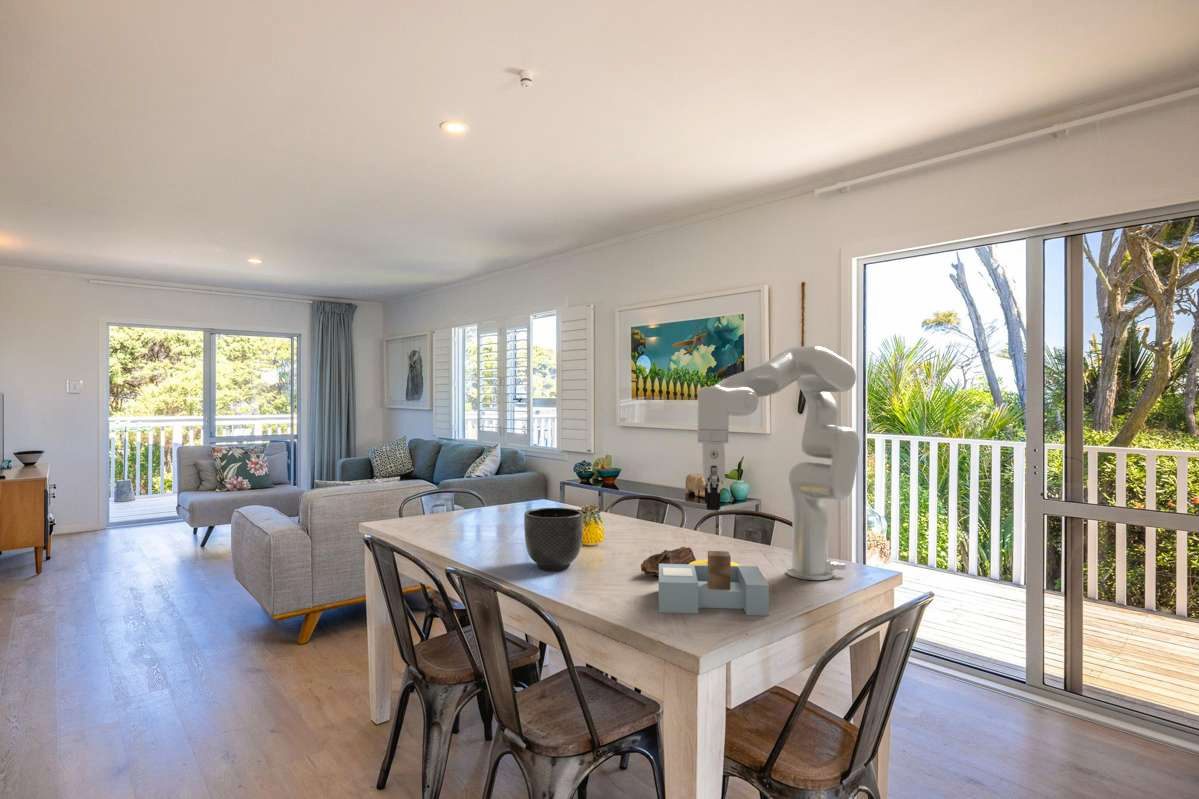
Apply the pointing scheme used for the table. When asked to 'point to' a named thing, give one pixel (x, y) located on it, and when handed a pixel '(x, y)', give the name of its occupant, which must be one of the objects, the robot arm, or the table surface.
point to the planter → (553, 536)
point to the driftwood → (667, 560)
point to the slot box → (711, 590)
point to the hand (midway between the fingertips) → (712, 506)
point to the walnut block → (719, 570)
